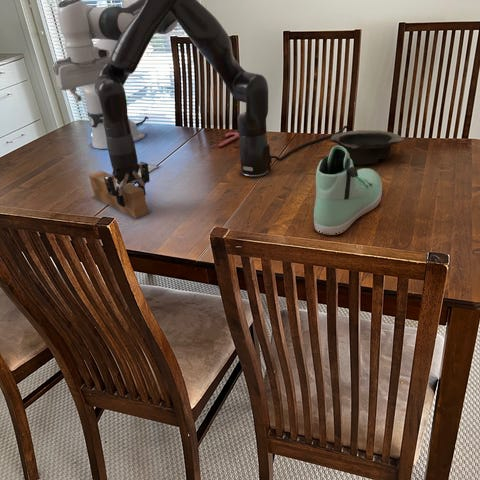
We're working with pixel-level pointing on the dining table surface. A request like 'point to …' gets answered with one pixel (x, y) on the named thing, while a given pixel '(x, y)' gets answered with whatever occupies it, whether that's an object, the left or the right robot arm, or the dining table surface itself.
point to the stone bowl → (367, 145)
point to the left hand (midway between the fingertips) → (91, 97)
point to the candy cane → (235, 136)
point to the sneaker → (343, 192)
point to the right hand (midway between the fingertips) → (132, 201)
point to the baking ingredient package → (148, 169)
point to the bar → (131, 194)
